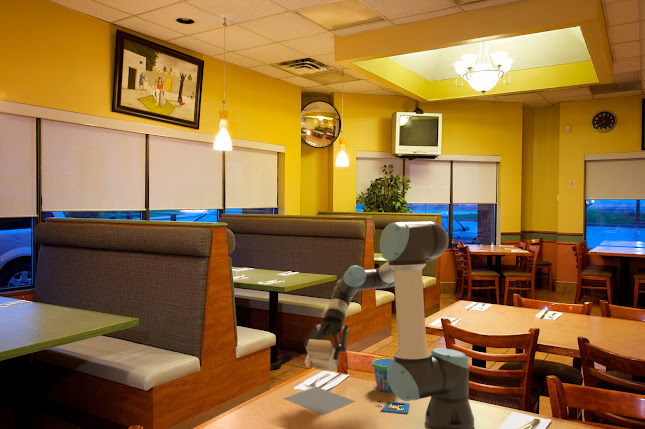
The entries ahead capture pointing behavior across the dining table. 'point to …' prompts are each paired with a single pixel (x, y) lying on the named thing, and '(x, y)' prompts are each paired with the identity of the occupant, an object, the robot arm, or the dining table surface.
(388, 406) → the handheld gaming device
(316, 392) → the mat
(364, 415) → the dining table surface
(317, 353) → the birch board
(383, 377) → the snack cup
